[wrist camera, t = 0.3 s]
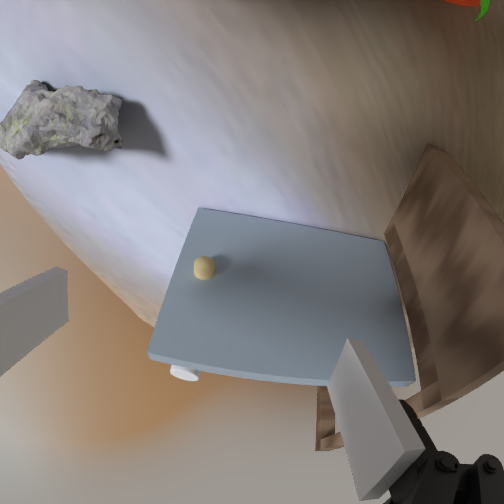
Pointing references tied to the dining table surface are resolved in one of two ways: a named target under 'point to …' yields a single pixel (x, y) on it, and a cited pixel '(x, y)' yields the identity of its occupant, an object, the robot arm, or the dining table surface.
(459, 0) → the clementine
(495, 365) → the door frame
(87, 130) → the mineral specimen
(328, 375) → the door
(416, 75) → the dining table surface
